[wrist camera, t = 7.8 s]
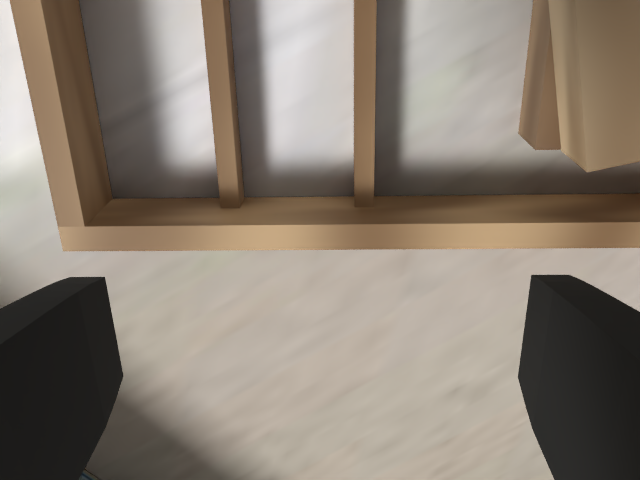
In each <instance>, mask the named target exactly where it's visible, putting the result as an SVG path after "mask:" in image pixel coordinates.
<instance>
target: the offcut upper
mask: <svg viewBox="0 0 640 480" xmlns="http://www.w3.org/2000/svg"><path fill="white" fill-rule="evenodd" d="M548 2H549V13H550V25H551V37H552V48H553V60H554V72H555V83H556V95H557V107H558V118H559V130H560V142H561V151H562V152H563V153H564V154H566V155H567V156H568V157H569V158H570V159H572V160H573V161H574V162H575V163H576V164H578V165H579V166H580V167H581V168H582V169H583V170H585V171H586V172H592V171H597V170H602V169H606V168H611V167H616V166H621V165H625V164H630V163H635V162H640V0H548Z"/></svg>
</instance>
